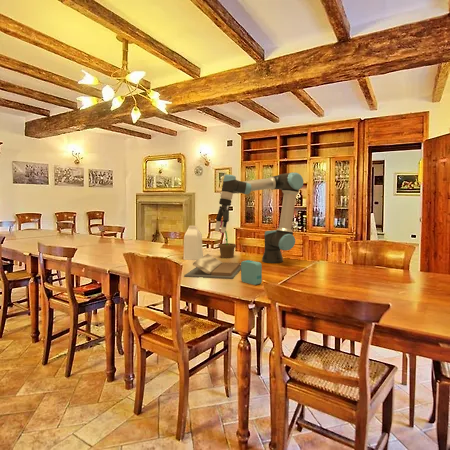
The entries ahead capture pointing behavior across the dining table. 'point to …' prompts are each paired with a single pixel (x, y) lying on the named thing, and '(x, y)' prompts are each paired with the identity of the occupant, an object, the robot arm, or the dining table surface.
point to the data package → (251, 272)
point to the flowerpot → (226, 247)
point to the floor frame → (217, 271)
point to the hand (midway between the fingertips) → (219, 231)
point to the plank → (207, 263)
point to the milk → (193, 244)
